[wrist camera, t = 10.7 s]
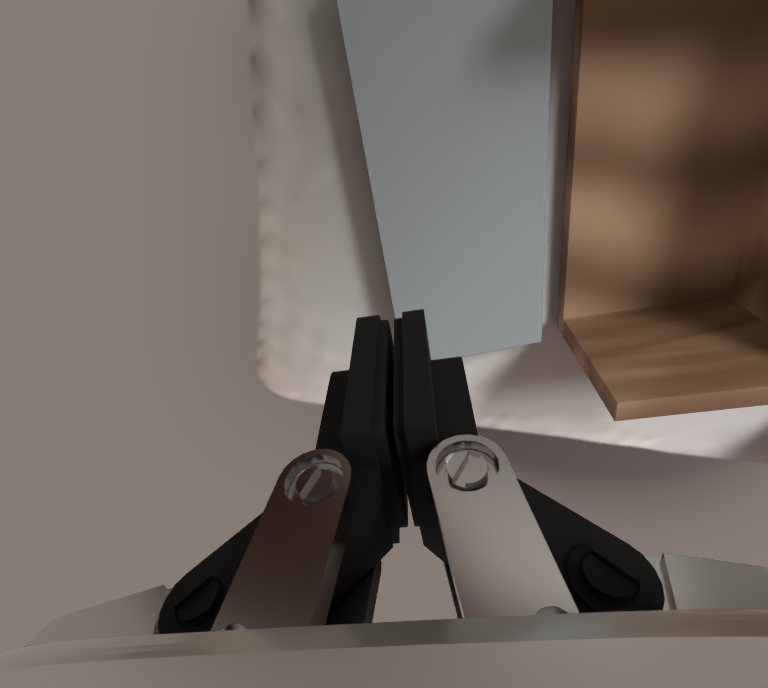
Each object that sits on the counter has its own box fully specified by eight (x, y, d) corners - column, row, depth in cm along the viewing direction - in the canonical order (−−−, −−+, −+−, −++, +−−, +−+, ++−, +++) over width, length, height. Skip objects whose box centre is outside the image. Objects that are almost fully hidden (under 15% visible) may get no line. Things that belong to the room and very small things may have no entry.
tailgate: (543, -70, 18) (331, -25, 18) (555, -78, 17) (331, -30, 17) (534, 332, 29) (402, 357, 29) (541, 341, 28) (404, 368, 28)
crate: (580, -77, 18) (713, -173, 10) (873, -145, 17) (1260, -308, 9) (557, 326, 29) (614, 421, 21) (733, 303, 28) (859, 394, 20)
